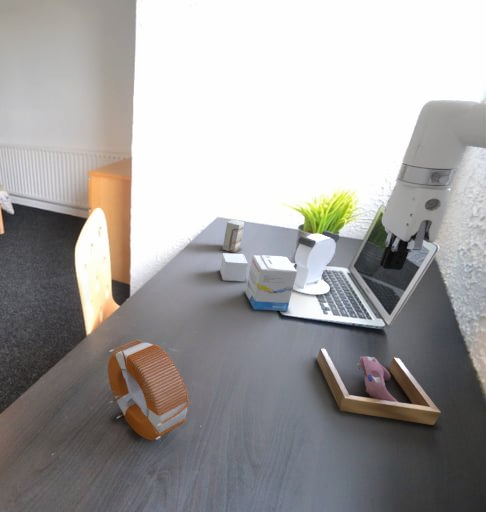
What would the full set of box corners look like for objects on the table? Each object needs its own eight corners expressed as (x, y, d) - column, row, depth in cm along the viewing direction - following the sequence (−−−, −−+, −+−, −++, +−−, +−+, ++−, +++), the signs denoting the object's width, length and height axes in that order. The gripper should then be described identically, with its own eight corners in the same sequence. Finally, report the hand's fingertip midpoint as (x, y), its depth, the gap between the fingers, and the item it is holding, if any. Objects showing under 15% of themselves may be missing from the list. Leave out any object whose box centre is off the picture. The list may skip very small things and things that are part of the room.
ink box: (288, 311, 92) (298, 270, 87) (252, 309, 94) (261, 269, 89) (277, 294, 100) (286, 255, 95) (244, 292, 101) (252, 254, 96)
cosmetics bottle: (234, 253, 124) (239, 225, 119) (221, 249, 127) (226, 222, 122) (240, 248, 127) (245, 221, 123) (228, 245, 130) (232, 218, 126)
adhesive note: (244, 281, 107) (248, 263, 104) (222, 280, 108) (225, 262, 105) (240, 271, 112) (243, 254, 109) (219, 270, 113) (222, 253, 110)
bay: (394, 369, 74) (399, 358, 72) (434, 425, 62) (441, 412, 61) (316, 359, 77) (320, 348, 76) (340, 410, 65) (345, 398, 64)
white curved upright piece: (303, 271, 111) (315, 225, 105) (340, 288, 102) (356, 238, 96) (274, 280, 107) (285, 232, 100) (310, 298, 98) (325, 247, 91)
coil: (132, 386, 71) (135, 323, 65) (187, 446, 60) (197, 376, 53) (102, 400, 68) (102, 336, 62) (154, 466, 57) (160, 395, 50)
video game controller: (362, 378, 74) (352, 349, 72) (390, 377, 71) (381, 347, 70) (370, 414, 66) (360, 383, 64) (403, 415, 63) (392, 382, 62)
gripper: (481, 187, 57) (435, 288, 65) (425, 166, 70) (393, 253, 78) (424, 185, 59) (386, 284, 67) (380, 165, 72) (353, 250, 80)
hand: (390, 267), depth 73 cm, fingers closed
